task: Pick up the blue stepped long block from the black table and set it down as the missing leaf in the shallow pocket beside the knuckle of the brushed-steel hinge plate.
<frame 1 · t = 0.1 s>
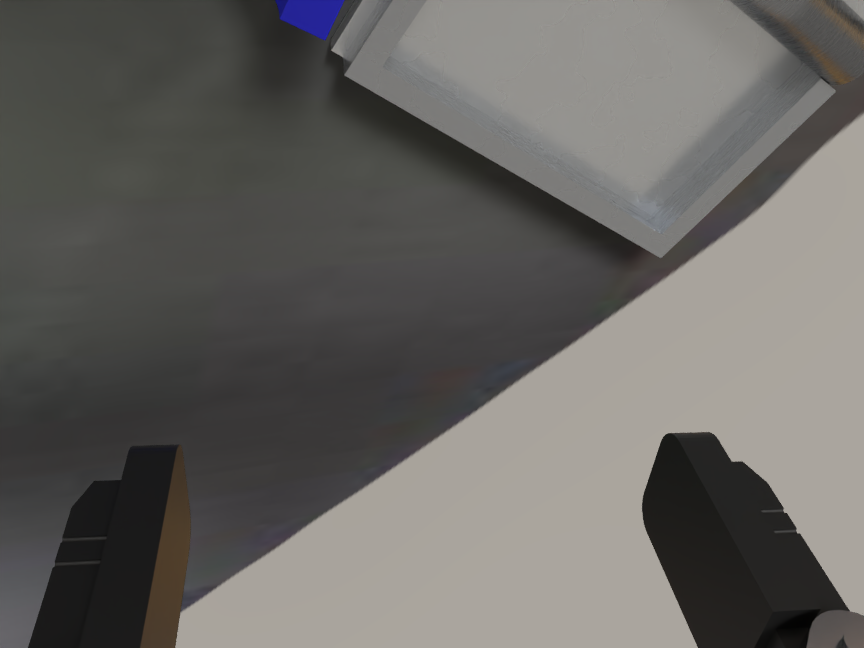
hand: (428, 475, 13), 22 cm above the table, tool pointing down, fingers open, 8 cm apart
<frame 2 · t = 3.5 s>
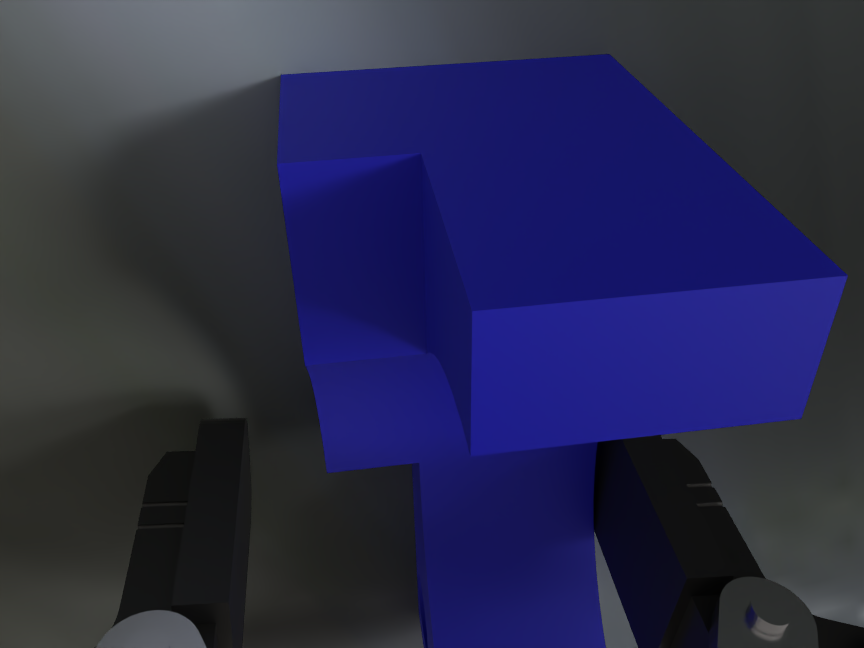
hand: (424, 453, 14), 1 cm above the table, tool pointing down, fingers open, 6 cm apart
blue stepped long block: (448, 391, 15), on the table, touching gripper
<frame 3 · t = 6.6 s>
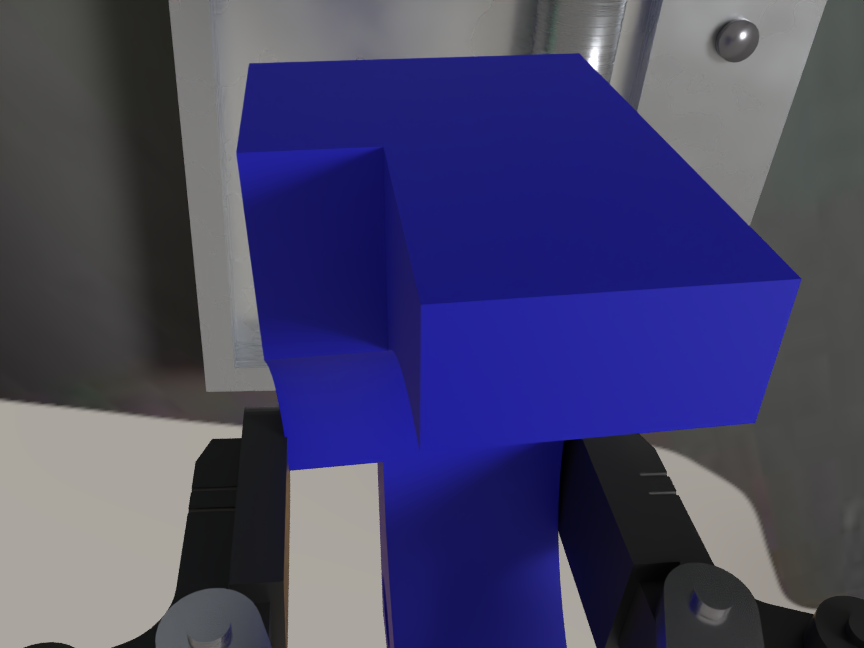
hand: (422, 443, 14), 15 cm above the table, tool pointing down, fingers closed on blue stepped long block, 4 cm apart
blue stepped long block: (416, 391, 14), point 14 cm above the table, touching gripper
hinge plate: (535, 139, 27), on the table
when the fingers open (4 cm above the table, at t = 9.2 s): blue stepped long block drops 2 cm, resting on hinge plate.
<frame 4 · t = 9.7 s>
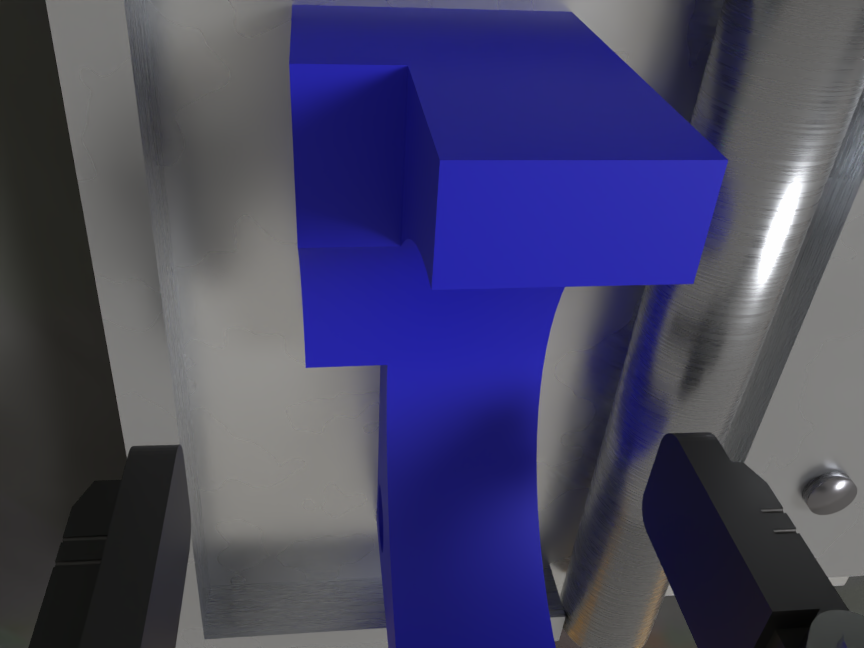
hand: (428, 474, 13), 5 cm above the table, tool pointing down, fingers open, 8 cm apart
blue stepped long block: (417, 312, 16), point 1 cm above the table, touching hinge plate
hinge plate: (646, 313, 18), on the table
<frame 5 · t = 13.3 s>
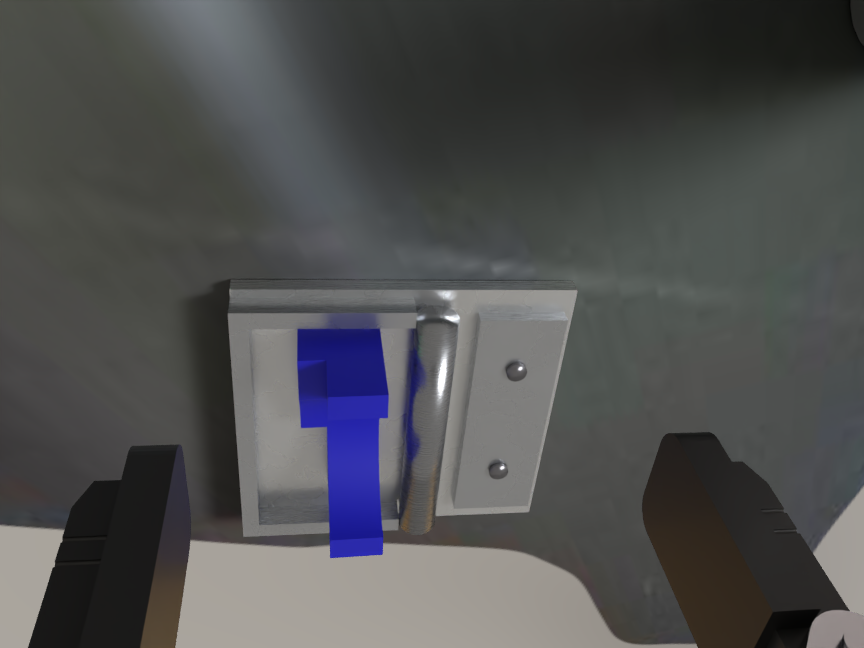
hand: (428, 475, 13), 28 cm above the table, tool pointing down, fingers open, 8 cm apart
blue stepped long block: (339, 407, 48), point 1 cm above the table, touching hinge plate
hinge plate: (421, 404, 50), on the table
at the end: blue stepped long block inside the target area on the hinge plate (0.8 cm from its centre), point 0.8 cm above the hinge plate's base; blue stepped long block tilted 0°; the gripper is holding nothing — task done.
